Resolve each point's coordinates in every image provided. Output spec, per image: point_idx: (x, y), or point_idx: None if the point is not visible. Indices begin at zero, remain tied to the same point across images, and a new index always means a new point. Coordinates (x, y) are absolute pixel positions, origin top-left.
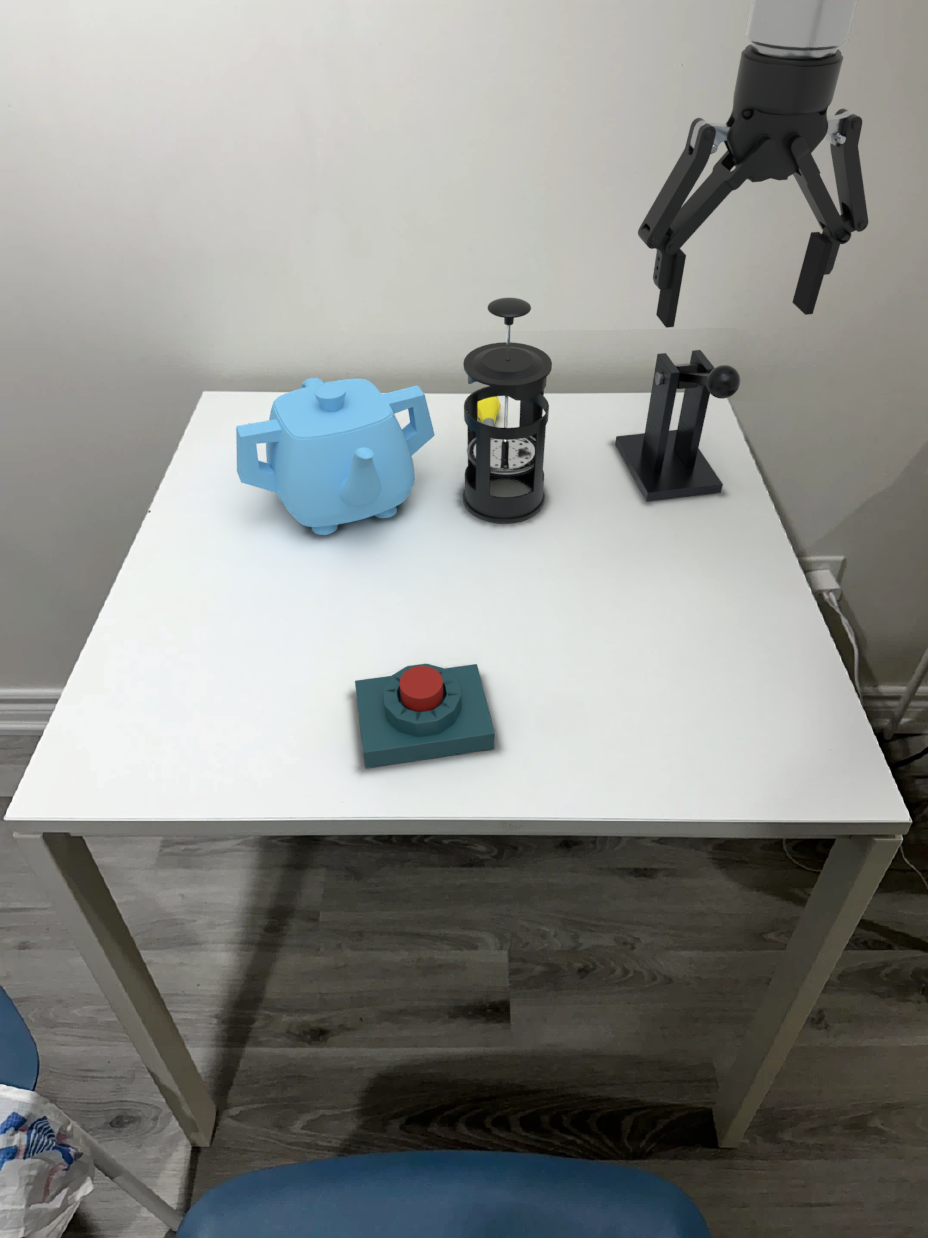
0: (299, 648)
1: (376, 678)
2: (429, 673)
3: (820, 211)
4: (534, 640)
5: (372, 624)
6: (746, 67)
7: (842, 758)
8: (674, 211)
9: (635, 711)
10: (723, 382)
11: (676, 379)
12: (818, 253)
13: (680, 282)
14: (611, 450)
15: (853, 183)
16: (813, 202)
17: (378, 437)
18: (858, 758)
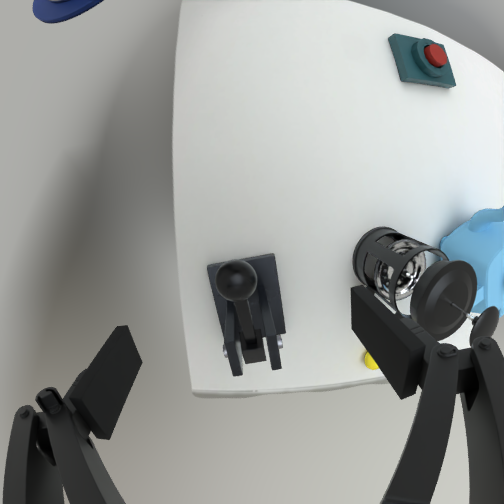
0: (473, 128)
1: (448, 83)
2: (436, 57)
3: (82, 453)
4: (372, 103)
5: (450, 137)
6: None
7: (197, 11)
8: (497, 394)
9: (313, 42)
10: (241, 266)
11: (267, 330)
12: (96, 394)
13: (385, 321)
14: (288, 321)
15: (17, 479)
16: (98, 477)
17: (489, 248)
18: (188, 12)
